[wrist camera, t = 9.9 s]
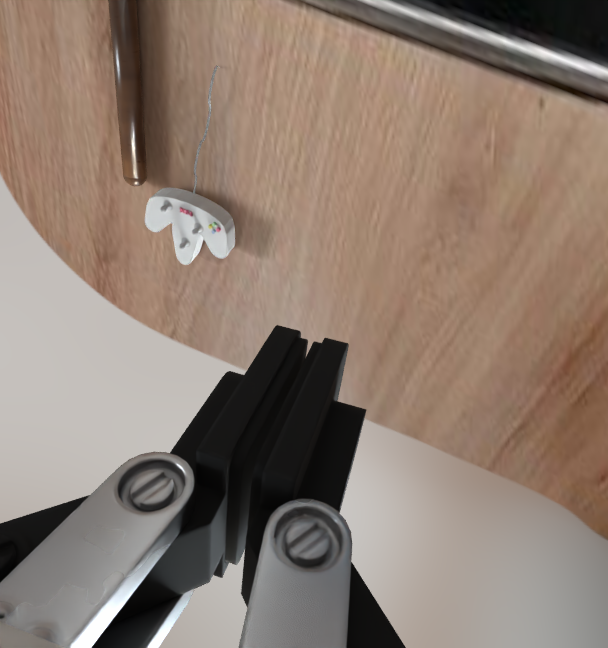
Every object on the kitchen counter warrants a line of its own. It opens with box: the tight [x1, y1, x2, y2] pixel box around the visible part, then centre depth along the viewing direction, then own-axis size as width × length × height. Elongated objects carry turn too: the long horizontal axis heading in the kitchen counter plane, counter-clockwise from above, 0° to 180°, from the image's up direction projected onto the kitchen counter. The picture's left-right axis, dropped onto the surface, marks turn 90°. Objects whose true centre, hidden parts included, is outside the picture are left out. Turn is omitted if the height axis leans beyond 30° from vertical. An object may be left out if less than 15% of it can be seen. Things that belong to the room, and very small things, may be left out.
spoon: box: [108, 0, 147, 186], centre depth 27 cm, size 17×5×1 cm, turn 173°
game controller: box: [145, 66, 235, 265], centre depth 29 cm, size 6×12×3 cm, turn 2°
